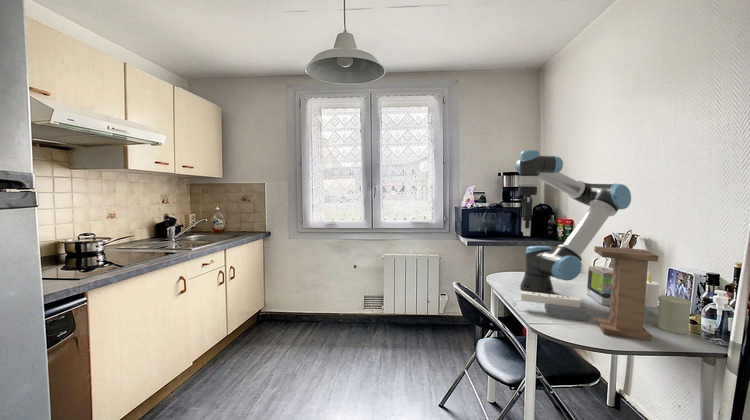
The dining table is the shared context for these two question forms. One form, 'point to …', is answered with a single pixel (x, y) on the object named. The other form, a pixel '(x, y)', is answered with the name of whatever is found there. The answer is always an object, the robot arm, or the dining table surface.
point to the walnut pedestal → (627, 292)
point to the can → (674, 314)
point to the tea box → (600, 284)
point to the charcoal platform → (567, 311)
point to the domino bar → (550, 299)
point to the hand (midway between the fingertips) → (525, 233)
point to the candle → (651, 293)
